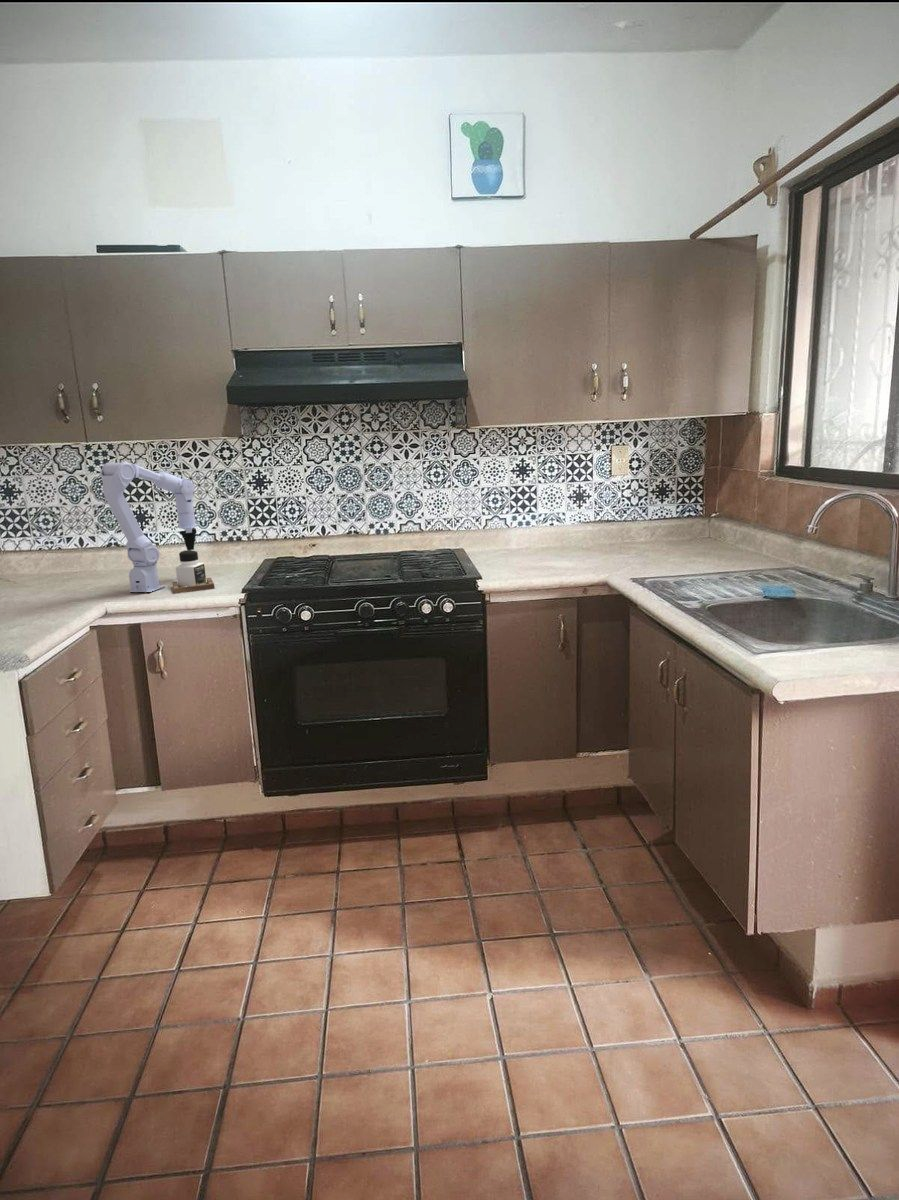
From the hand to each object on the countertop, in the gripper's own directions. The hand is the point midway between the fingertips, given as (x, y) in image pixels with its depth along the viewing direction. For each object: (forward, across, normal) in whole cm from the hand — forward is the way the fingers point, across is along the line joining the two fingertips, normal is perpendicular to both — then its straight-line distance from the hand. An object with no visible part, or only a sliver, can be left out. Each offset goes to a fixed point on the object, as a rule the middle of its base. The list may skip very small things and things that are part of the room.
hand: (190, 550), depth 278 cm
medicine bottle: (+11, -11, +1) cm, 15 cm away
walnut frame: (+10, -16, +1) cm, 19 cm away
